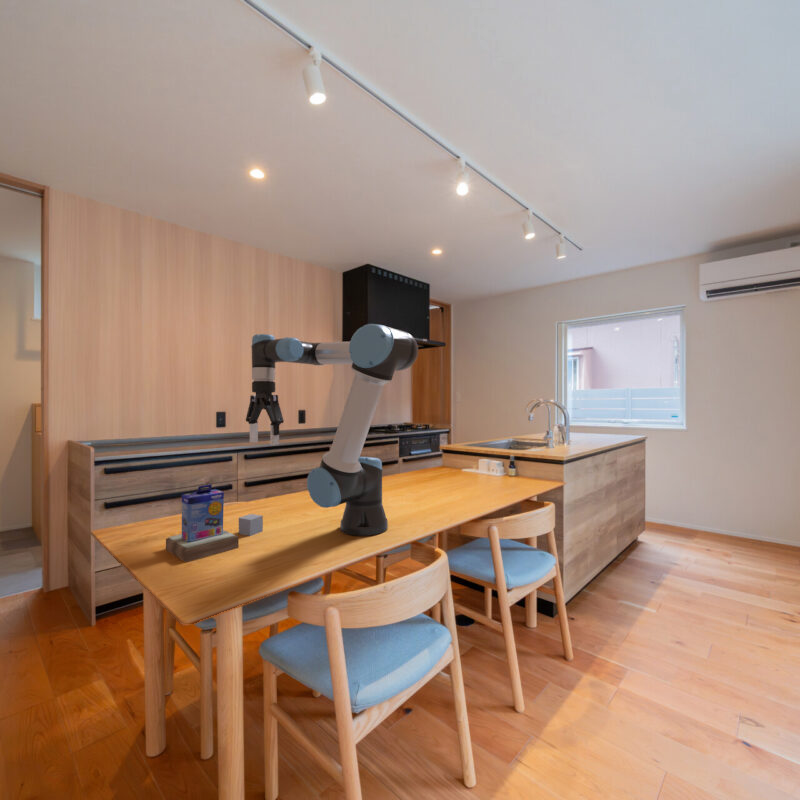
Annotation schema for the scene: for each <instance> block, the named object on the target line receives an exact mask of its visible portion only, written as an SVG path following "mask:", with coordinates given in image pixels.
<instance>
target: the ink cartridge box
mask: <svg viewBox="0 0 800 800" xmlns="http://www.w3.org/2000/svg"><path fill="white" fill-rule="evenodd" d="M212 486H213V485H212V484H205V485H204V484H203V485H199V486H198V488H197V491H195V492H189V493H184V494H181V534H182V538H183V539H184V540H185V541H187V542H192V541H196V540H200V539H205V538H209V537H213V536H217V535H222V534H223V530H224V505H225V504H224V500H225V498H224V497H225V493H224V492H223V491H222V490H219V489H216V488H214V489H212Z"/></svg>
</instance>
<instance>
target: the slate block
mask: <svg viewBox="0 0 800 800" xmlns="http://www.w3.org/2000/svg"><path fill="white" fill-rule="evenodd" d="M263 521H264V516H263V515H260V514H255V513H250V514H247V515H244V516H240V517H238V534H239V535H243V536H248V537H252V536H254V535H257V534H259V533H262V532H263V531H264V528H263V527H264V526H263V525H264V522H263Z"/></svg>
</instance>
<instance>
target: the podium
mask: <svg viewBox="0 0 800 800" xmlns="http://www.w3.org/2000/svg"><path fill="white" fill-rule="evenodd" d="M239 545H240V544H239V536H238V535H235V534H233V533H231V532H229V531H227V530H225V529H223V534H222V535H217V536H213V537H209V538H205V539H200V540H196V541H192V542H187V541H185V540H184V539H183V538H182V533H180V534H175V535H171V536H168V537H167V538H165V550H166V551H167V552H169V553H171V554H172V555H174V556H175V557H177V558H178V559H179V560H182V561H183V562H184V563H188V562H192V561H195V560H199V559H200V560H201V559H203V558H206V557H210V556H213V555H216V554H221V553H224V552H225V553H226V552H227V551H228V552H229V551H232V550H235V549H238V548H239Z"/></svg>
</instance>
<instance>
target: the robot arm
mask: <svg viewBox="0 0 800 800" xmlns="http://www.w3.org/2000/svg"><path fill="white" fill-rule="evenodd" d="M418 356H419V346H418V343H417V341H416V339H415V338H414V336H413V335H412V334H410V333H409V332H407V331H406V330H405V331H404V330H402V329H396V328H393V327H390V326H386V325H382V324H381V323H380V324H377V323H376V324H375V323H367V324H365V325H363V326H361V327H359V328H358V329H356V331H355V332H354V333H353V335H352V337H351V339H350V341H329V342H307V341H303V340H300V339H298V338H296V337H288V336H287V337H286V336H285V337H281V338H277V339H276V337H275V336H274V335H273V334H266V333H261V334H260V333H258V334H254V335H253V336H252V337H251V380H252V382H251V393H255V395H254V394H253V395H252V394H251V395H250V396H249V399H250V400H249V404H248V405H249V406H248V408H247V412H246V413H247V414H246V417H245V422H248V424H249V443H250V444H252V443H258V442H259V422H258V419H259V417H260V415H261V413H262V411H263V410H265V412H266V413H267V417H268V418H269V420H270V423H269V424H270V427H269V429H270V431H269V432H270V434H269V435H270V441H269V442H270V446H279V445H280V425H282V424H283V423H284V418H283V417H284V416H283V413H282V409H281V406H280V403H279V395H278V394H273V393H276V382H275V380H276V374H277V373H276V363H292V364H293V363H294V364H304V365H312V366H324V365H348V366H349V365H351V370H352V373H353V374H354V376H353V379H352V382H351V386H350V388H349V391H348V394H347V397H346V401H345V403H344V407H343V409H342V414H341V415H340V419H339V422H338V426H337V428H336V429H337V430H336V432H335V434H334V438H333V442H332V443H331V448H330V450H329V451H328V452H326V453H324V454H323V456H322V459H321V461H320V463H319V464H320V465H319V467H318V466H317V467H314V468H313V469H312V470H310V472H309V473H308V475H307V478H306V486H307V487H306V488H307V491H308V493H309V497H310V498H311V499H312V501H313V502H314V503H315V505H318V507H320V508H324V509H325V508H326V509H327V508H332V507H333V508H334V507H335V508H336V507H337V506H339V505H342V504H345V507H344V511H343V514H342V518H341V520H340V531H341V532H342V533H343V534H346V535H350V536H361V537H362V536H363V537H364V536H374V535H378V534H382V533H383V532H386V531H387V530H388V527H389V522H388V518H387V517H386V512H385V508H384V505H383V463H382V462H383V461H382V460H381V459H380V458H378V457H373V456H372V457H370V456H361V454H362V450H363V448H364V445H365V442H366V439H367V436H368V433H369V430H370V427H371V425H372V423H373V422H372V421H373V419H374V415H375V412H376V410H377V407H378V404H379V402H380V398H381V395H382V393H383V389H384V386H385V385H386V384H387V383H390V382H392V380H393V377H394V374H395V371H399V372H400V371H405V370H407V369H408V368H411V366H413V364H414V363H415V362H416V360H417V359H418Z"/></svg>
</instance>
